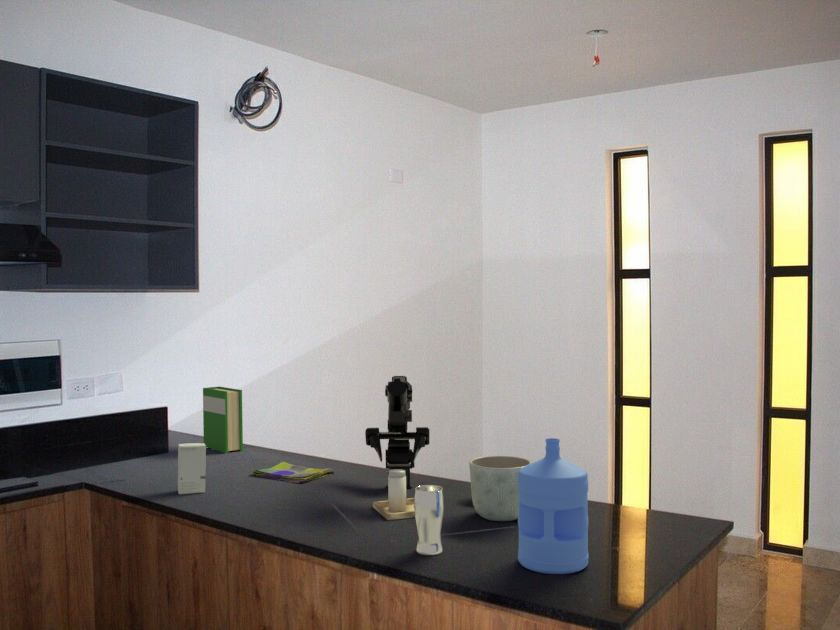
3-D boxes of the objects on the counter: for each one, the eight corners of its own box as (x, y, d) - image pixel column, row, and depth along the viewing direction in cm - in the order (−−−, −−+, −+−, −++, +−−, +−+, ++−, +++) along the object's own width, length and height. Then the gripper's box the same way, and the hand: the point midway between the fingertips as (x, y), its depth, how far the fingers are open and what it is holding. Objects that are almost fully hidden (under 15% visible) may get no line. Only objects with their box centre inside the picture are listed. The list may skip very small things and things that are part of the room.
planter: (521, 507, 228) (521, 454, 227) (540, 524, 211) (540, 467, 211) (463, 511, 225) (463, 457, 224) (478, 528, 208) (477, 469, 208)
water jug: (524, 549, 190) (523, 432, 189) (591, 555, 186) (591, 435, 185) (512, 571, 175) (511, 444, 175) (585, 578, 171) (585, 447, 170)
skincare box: (178, 495, 246) (177, 446, 245) (177, 490, 251) (176, 443, 251) (206, 492, 248) (206, 444, 248) (205, 488, 254) (204, 441, 254)
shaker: (398, 506, 228) (398, 468, 228) (410, 510, 224) (409, 471, 224) (384, 509, 225) (384, 470, 224) (396, 513, 221) (395, 473, 221)
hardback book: (242, 451, 315) (241, 390, 314) (225, 453, 310) (225, 391, 309) (220, 445, 328) (219, 386, 327) (203, 447, 323) (202, 388, 322)
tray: (419, 504, 232) (419, 497, 232) (436, 516, 219) (436, 509, 219) (373, 508, 228) (372, 501, 228) (387, 521, 215) (387, 514, 214)
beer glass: (413, 547, 193) (413, 485, 193) (442, 546, 194) (441, 484, 193) (415, 556, 186) (415, 492, 186) (445, 555, 187) (445, 491, 186)
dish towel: (285, 467, 286) (284, 459, 286) (337, 475, 273) (337, 467, 273) (249, 476, 272) (248, 468, 272) (302, 486, 258) (302, 477, 258)
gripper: (365, 400, 235) (363, 445, 224) (429, 399, 235) (430, 444, 224) (367, 422, 243) (365, 467, 232) (428, 422, 243) (429, 466, 232)
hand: (397, 460), depth 230 cm, fingers open, 9 cm apart
